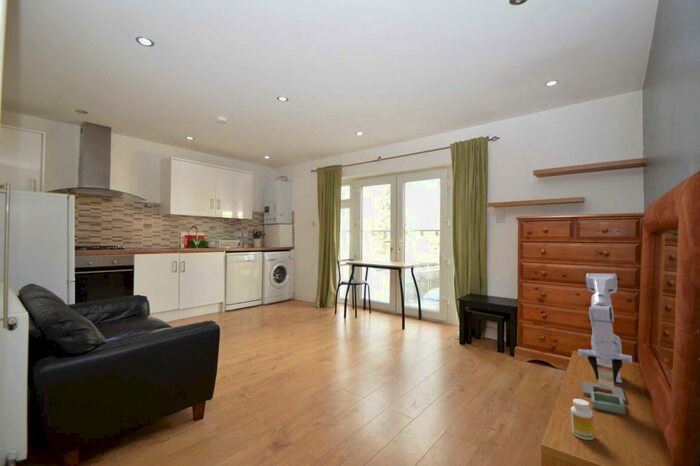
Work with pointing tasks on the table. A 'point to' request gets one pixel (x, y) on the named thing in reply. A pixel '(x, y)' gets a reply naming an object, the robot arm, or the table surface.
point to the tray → (607, 403)
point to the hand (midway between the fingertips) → (605, 379)
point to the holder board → (593, 386)
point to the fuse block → (605, 377)
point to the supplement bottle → (582, 420)
